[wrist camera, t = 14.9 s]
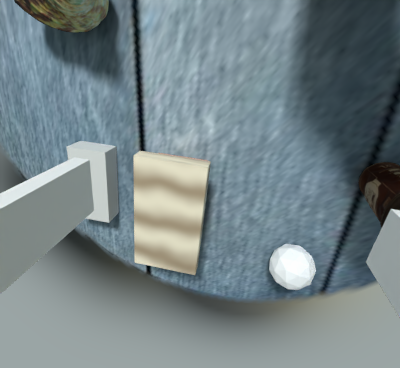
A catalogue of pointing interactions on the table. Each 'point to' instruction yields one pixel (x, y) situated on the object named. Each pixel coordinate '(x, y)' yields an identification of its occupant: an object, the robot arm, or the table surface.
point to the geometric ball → (292, 267)
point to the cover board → (169, 210)
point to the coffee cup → (381, 188)
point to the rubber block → (100, 177)
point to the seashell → (67, 13)
